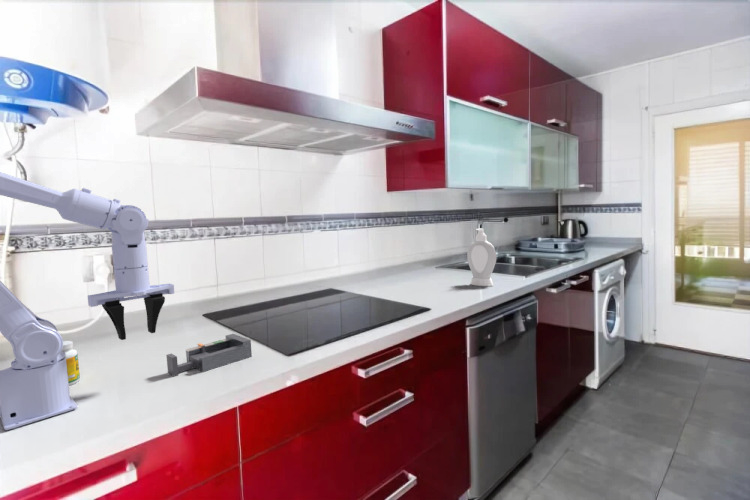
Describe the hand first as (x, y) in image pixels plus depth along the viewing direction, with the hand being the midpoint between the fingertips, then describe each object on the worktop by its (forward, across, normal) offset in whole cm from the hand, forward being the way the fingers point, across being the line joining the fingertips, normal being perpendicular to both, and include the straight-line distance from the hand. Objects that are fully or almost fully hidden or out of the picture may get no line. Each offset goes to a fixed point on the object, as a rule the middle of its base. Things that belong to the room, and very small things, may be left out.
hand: (137, 335), depth 79 cm
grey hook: (+10, +10, +1) cm, 14 cm away
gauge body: (+10, +16, 0) cm, 19 cm away
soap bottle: (+10, +129, -6) cm, 130 cm away
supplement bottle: (+10, -10, +13) cm, 19 cm away
